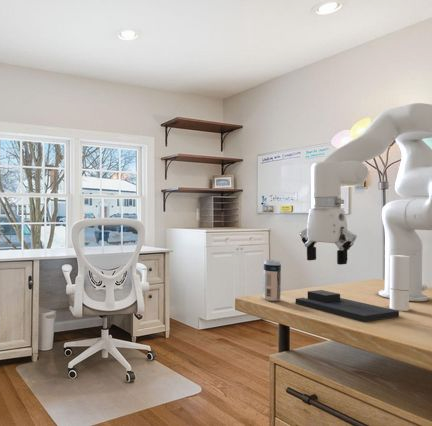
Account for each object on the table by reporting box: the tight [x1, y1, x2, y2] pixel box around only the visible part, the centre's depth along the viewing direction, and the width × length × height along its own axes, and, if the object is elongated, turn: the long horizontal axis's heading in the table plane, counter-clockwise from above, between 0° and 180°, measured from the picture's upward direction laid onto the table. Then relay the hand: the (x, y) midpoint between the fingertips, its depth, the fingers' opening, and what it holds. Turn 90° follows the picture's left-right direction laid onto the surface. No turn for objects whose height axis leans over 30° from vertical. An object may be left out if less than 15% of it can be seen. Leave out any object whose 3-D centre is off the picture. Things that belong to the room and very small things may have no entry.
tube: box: [389, 255, 410, 312], centre depth 106 cm, size 4×4×15 cm
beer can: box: [262, 259, 282, 302], centre depth 115 cm, size 5×5×12 cm
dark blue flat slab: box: [295, 297, 400, 323], centre depth 105 cm, size 14×20×2 cm
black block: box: [307, 289, 341, 303], centre depth 110 cm, size 6×6×4 cm
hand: (326, 262), depth 111 cm, fingers open, 9 cm apart
